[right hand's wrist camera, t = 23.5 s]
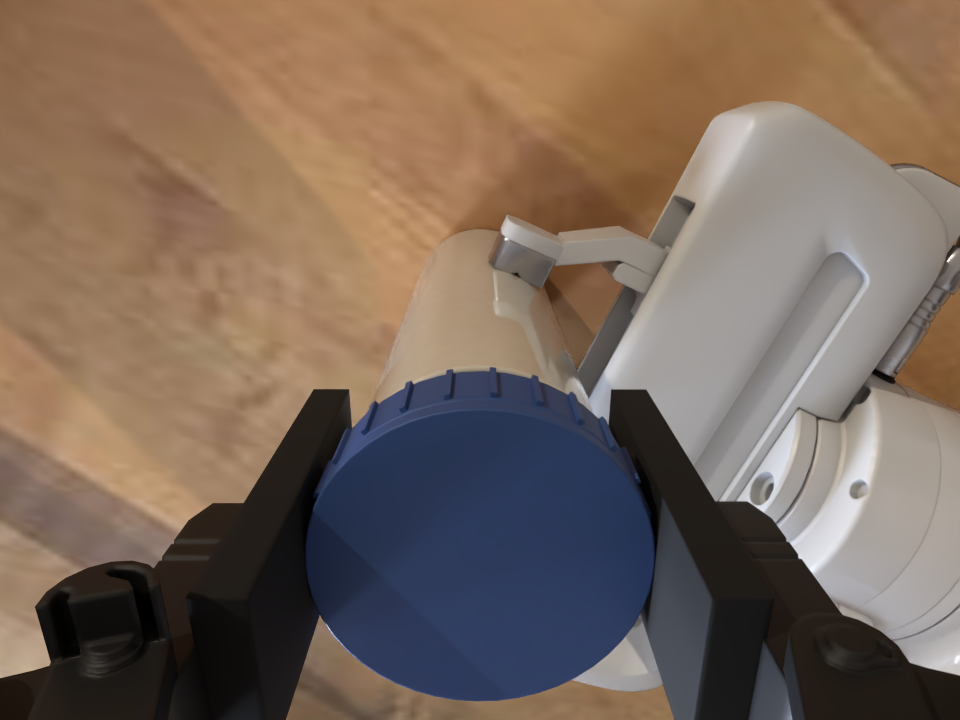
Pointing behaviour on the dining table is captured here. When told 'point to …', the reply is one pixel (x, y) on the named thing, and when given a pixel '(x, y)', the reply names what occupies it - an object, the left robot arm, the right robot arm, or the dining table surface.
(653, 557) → the lid
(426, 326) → the cream cylinder
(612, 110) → the dining table surface
